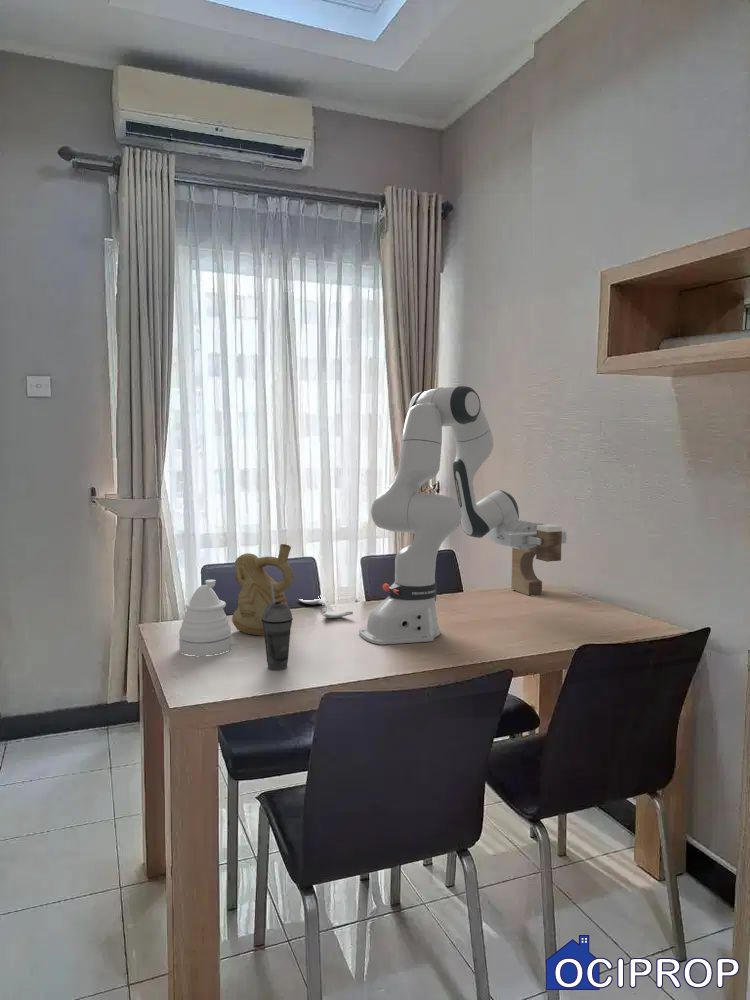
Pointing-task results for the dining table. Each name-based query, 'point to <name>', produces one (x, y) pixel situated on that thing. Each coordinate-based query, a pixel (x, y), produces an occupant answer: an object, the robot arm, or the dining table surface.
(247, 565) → the ceramic vessel
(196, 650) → the honey pot
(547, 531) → the walnut block
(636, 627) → the dining table surface
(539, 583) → the decorative block
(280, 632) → the beverage cup
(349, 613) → the white slender handled part
